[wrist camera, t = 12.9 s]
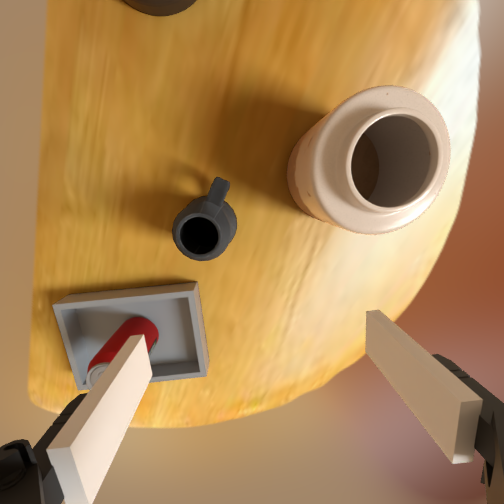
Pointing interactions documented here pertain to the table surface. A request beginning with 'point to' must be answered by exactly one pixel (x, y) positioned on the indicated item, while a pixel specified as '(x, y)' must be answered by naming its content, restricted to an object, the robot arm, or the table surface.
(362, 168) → the vase
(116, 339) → the beverage can
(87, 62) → the table surface
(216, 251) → the mug
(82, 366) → the bin
